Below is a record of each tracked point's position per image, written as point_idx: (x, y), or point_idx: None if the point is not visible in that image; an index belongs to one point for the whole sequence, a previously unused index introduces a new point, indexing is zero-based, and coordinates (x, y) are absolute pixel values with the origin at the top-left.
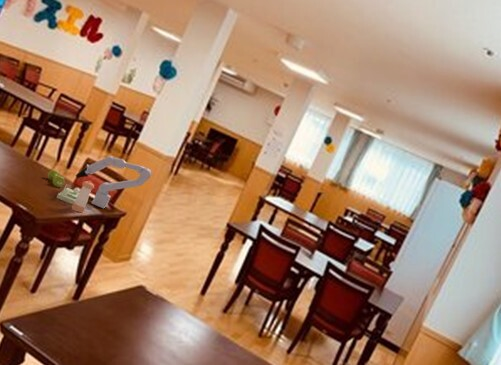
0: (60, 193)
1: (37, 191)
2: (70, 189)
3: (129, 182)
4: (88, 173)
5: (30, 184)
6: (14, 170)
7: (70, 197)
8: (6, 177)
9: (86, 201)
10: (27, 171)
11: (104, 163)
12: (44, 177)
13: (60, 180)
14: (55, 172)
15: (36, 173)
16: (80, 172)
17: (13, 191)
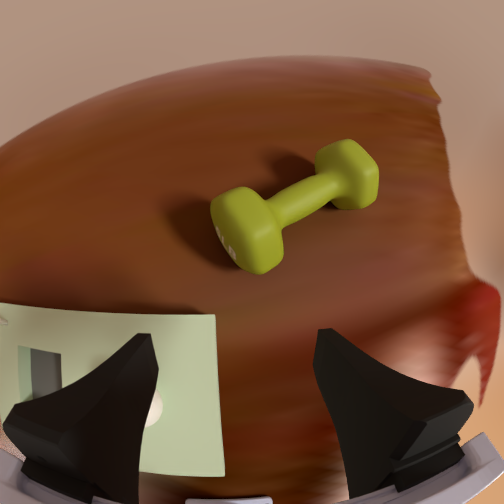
0: (15, 311)
1: (10, 222)
2: (202, 346)
3: None
4: (351, 475)
5: (70, 168)
6: (202, 83)
7: (17, 374)
8: (63, 113)
9: None
10: (278, 104)
11: None
12: None
13: (226, 234)
14: (341, 163)
15: (317, 128)
16: (80, 384)
17: None
